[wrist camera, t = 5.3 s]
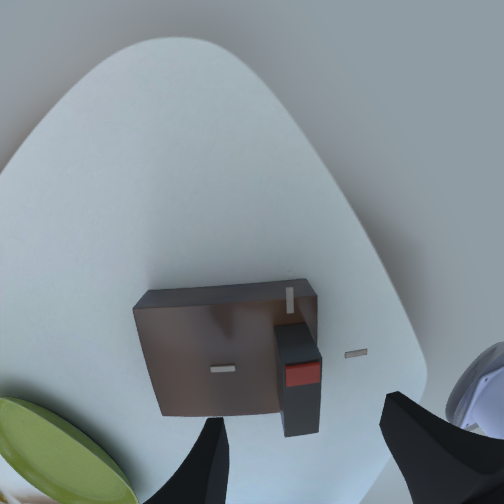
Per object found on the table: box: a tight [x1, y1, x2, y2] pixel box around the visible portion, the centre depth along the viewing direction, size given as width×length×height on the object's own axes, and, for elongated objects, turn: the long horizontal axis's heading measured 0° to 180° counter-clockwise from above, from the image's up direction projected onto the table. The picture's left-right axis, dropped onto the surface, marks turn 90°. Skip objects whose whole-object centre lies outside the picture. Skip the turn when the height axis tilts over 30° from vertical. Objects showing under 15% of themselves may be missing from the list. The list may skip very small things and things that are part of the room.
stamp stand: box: [133, 279, 367, 417], centre depth 18 cm, size 13×9×3 cm
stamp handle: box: [274, 323, 322, 437], centre depth 14 cm, size 5×2×4 cm, turn 5°
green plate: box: [0, 396, 139, 504], centre depth 21 cm, size 21×21×3 cm
